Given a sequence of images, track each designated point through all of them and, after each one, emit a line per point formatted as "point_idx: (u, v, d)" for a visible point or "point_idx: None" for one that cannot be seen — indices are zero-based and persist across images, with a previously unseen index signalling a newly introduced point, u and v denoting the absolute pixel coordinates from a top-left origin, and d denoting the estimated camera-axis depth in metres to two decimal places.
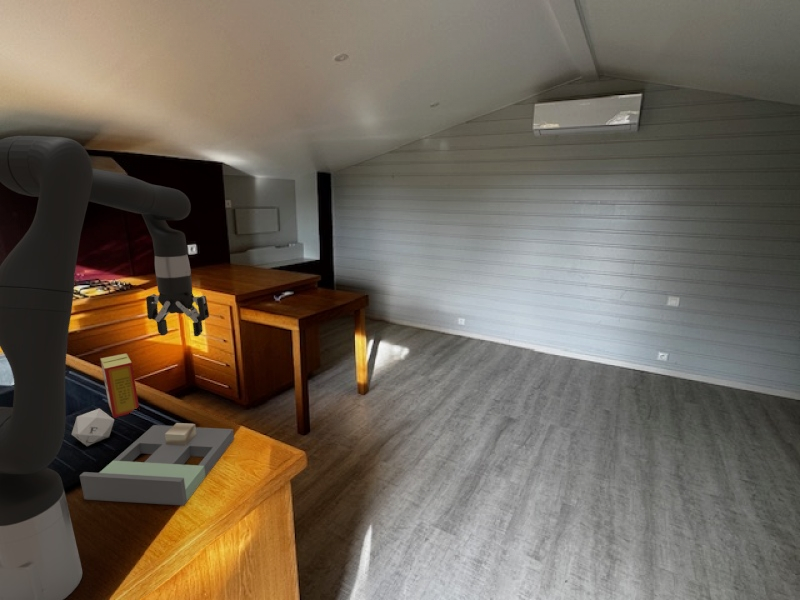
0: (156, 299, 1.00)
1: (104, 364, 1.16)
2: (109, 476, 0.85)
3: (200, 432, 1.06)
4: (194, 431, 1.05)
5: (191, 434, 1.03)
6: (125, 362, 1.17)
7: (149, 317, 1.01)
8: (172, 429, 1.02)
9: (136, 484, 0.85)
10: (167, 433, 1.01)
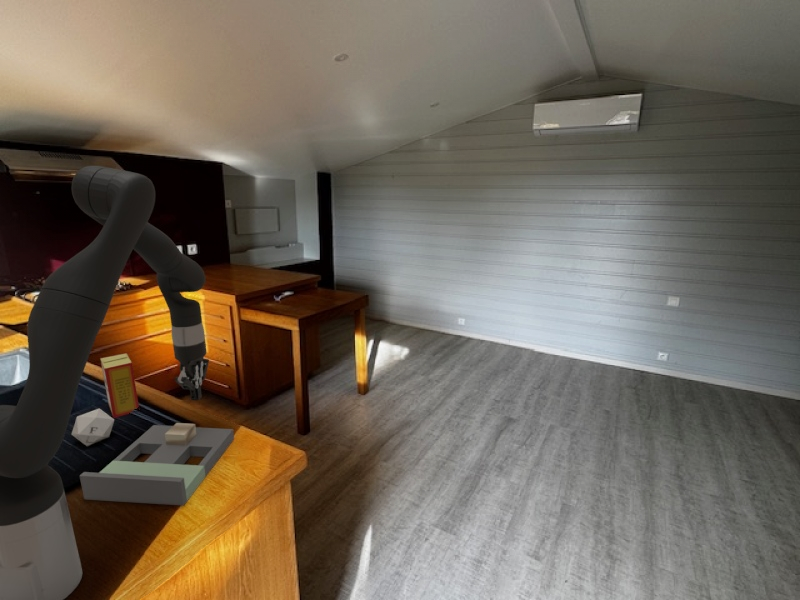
0: (185, 374, 1.03)
1: (104, 364, 1.16)
2: (109, 476, 0.85)
3: (200, 432, 1.06)
4: (194, 431, 1.05)
5: (191, 434, 1.03)
6: (125, 362, 1.17)
7: (193, 387, 1.05)
8: (172, 429, 1.02)
9: (136, 484, 0.85)
10: (167, 433, 1.01)
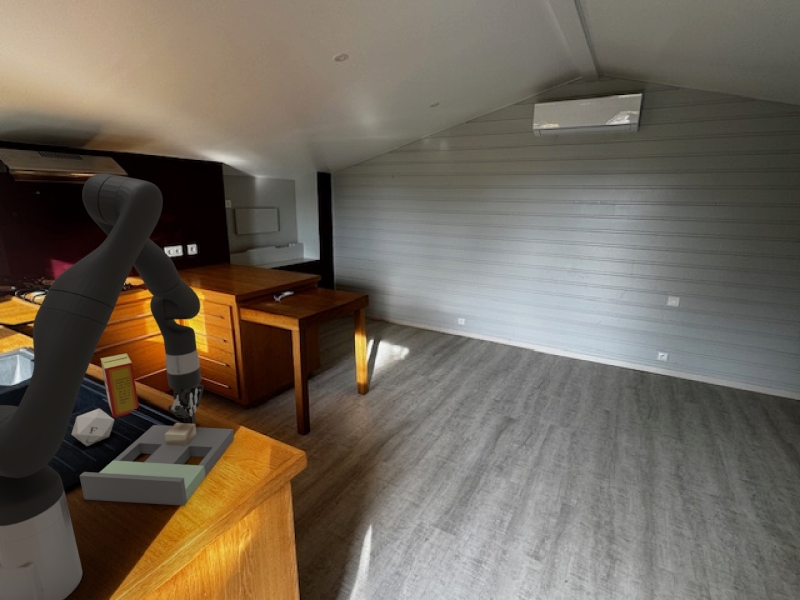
0: (178, 402, 1.01)
1: (104, 364, 1.16)
2: (109, 476, 0.85)
3: (200, 432, 1.06)
4: (194, 431, 1.05)
5: (191, 434, 1.03)
6: (125, 362, 1.17)
7: (187, 415, 1.04)
8: (172, 429, 1.02)
9: (136, 484, 0.85)
10: (167, 433, 1.01)
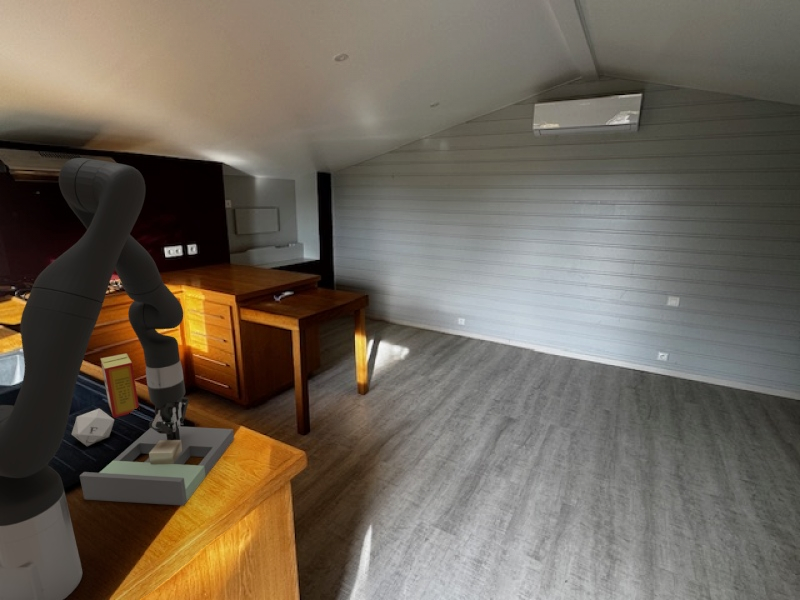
0: (160, 418, 0.94)
1: (104, 364, 1.16)
2: (109, 476, 0.85)
3: (200, 432, 1.06)
4: (180, 448, 0.98)
5: (178, 451, 0.97)
6: (125, 362, 1.17)
7: (170, 432, 0.96)
8: (156, 447, 0.95)
9: (136, 484, 0.85)
10: (151, 452, 0.93)
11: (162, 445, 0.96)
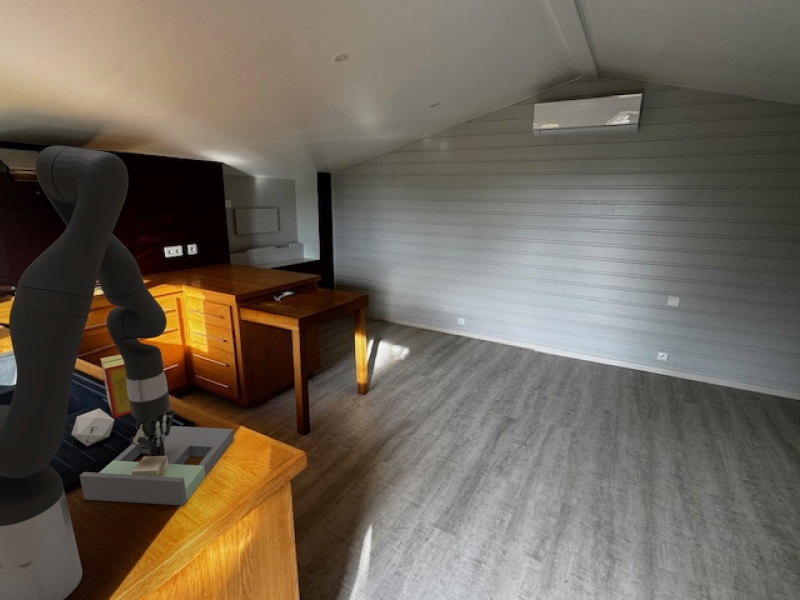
0: (142, 433, 0.88)
1: (104, 364, 1.16)
2: (109, 476, 0.85)
3: (200, 432, 1.06)
4: (166, 464, 0.92)
5: (163, 468, 0.91)
6: None
7: (153, 447, 0.90)
8: (140, 464, 0.89)
9: (136, 484, 0.85)
10: (135, 470, 0.87)
11: (146, 462, 0.90)
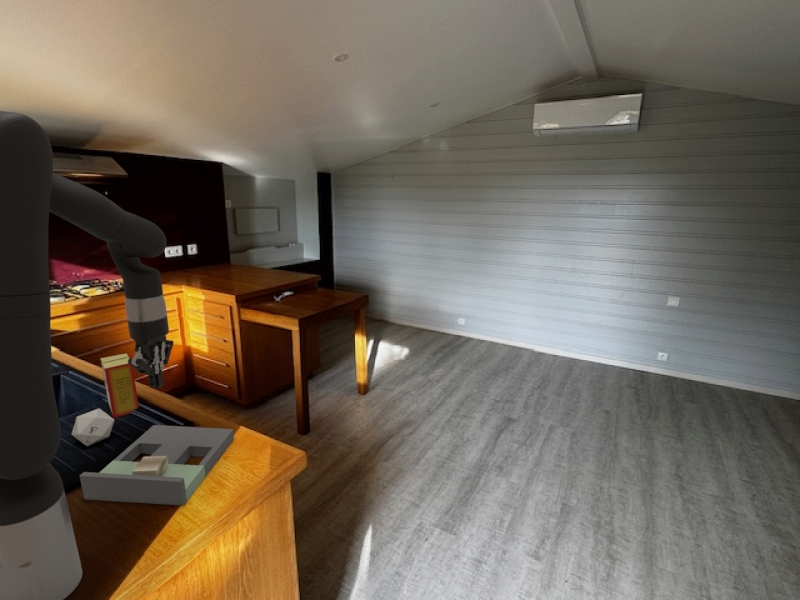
0: (141, 355, 0.86)
1: (104, 364, 1.16)
2: (109, 476, 0.85)
3: (200, 432, 1.06)
4: (166, 464, 0.92)
5: (163, 468, 0.91)
6: (125, 362, 1.17)
7: (152, 372, 0.89)
8: (140, 464, 0.89)
9: (136, 484, 0.85)
10: (135, 470, 0.87)
11: (146, 462, 0.90)
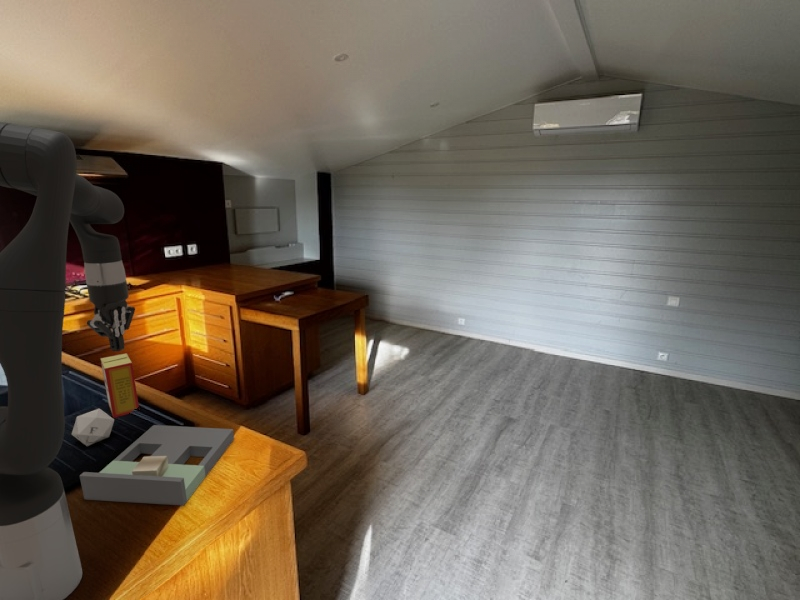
0: (100, 318, 0.91)
1: (104, 364, 1.16)
2: (109, 476, 0.85)
3: (200, 432, 1.06)
4: (166, 464, 0.92)
5: (163, 468, 0.91)
6: (125, 362, 1.17)
7: (112, 335, 0.94)
8: (140, 464, 0.89)
9: (136, 484, 0.85)
10: (135, 470, 0.87)
11: (146, 462, 0.90)
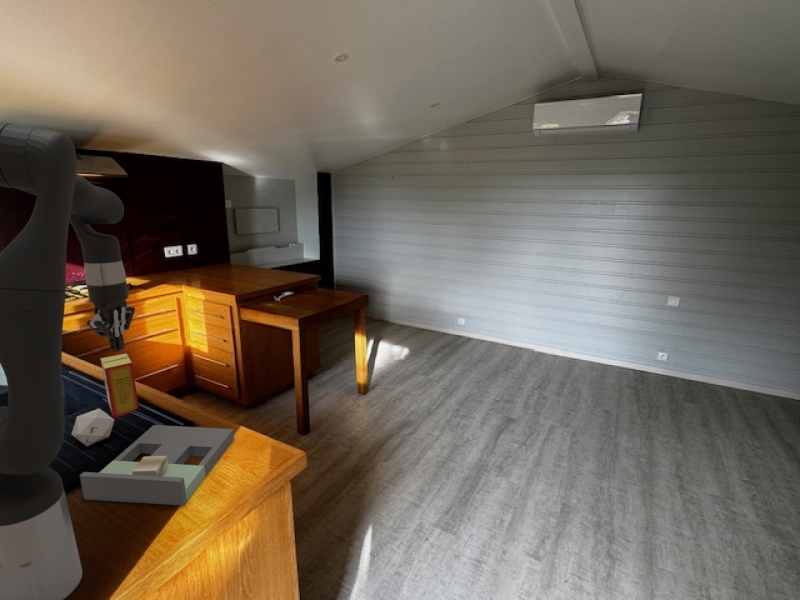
0: (99, 318, 0.91)
1: (104, 364, 1.16)
2: (109, 476, 0.85)
3: (200, 432, 1.06)
4: (166, 464, 0.92)
5: (163, 468, 0.91)
6: (125, 362, 1.17)
7: (111, 335, 0.94)
8: (140, 464, 0.89)
9: (136, 484, 0.85)
10: (135, 470, 0.87)
11: (146, 462, 0.90)
